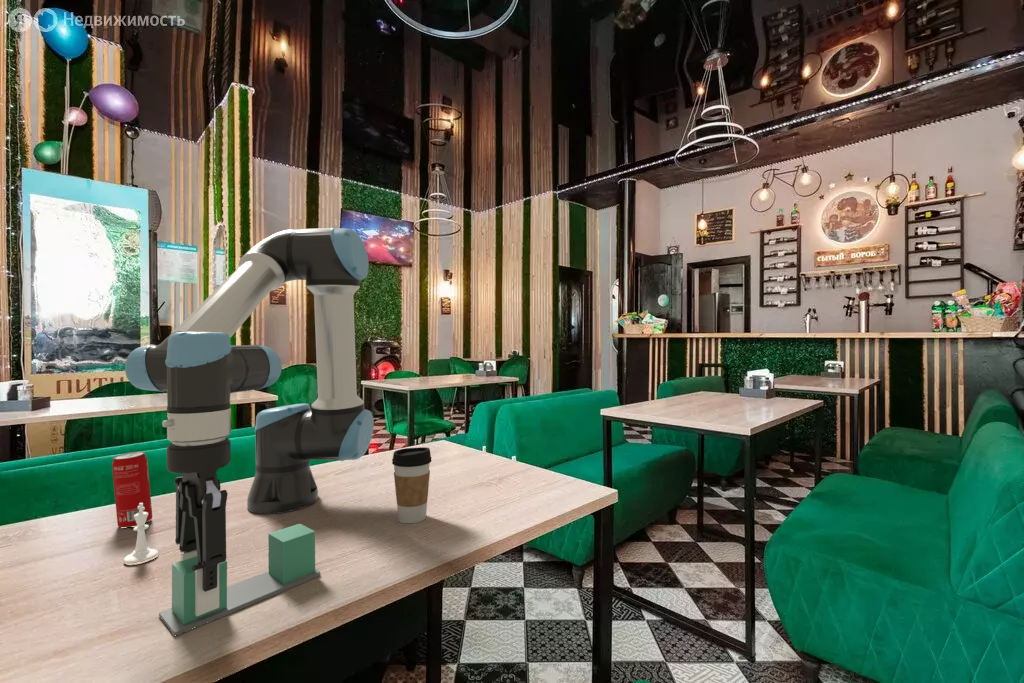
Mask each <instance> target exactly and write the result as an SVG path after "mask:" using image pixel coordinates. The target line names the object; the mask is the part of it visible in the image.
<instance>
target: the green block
mask: <svg viewBox="0 0 1024 683" xmlns="http://www.w3.org/2000/svg"><path fill="white" fill-rule="evenodd" d="M197 564H198V558H197V556H196V557H193V558H189V559H186V560H183V561H181V560H180V561H175V562H173V563H171V608H172V611H173V613H174V614H175V615H176V616H177V617H178V619H179V620H180V621H181V622H182V623H183V625H184V624H187V623H189V622H192V621H194V620H197V619H199V618H202V617H204V616H207V615H209V614H212V613H214V612H217V611H219V610H222V609H224V608H227V587H228V561H227V560H226V561H225V562H222V563H219V608H217V609H214V610H212V611H209V612H207V613H205V614H202V615H200V616H196V615H195V571H193V570H192V566H194V565H197Z"/></svg>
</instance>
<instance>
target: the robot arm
mask: <svg viewBox="0 0 1024 683" xmlns="http://www.w3.org/2000/svg"><path fill="white" fill-rule="evenodd" d="M369 264H370V263H369V256H368V252H367V248H366V245H365V243H364V240H363V239H362V237H361V236H360V235H359V233H358V232H356V231H355V230H353V229H351V228H342V227H326V228H323V227H321V228H290V229H285V230H282V231H278V232H276V233H273V234H272V235H270V236H268V237H265V238H264V239H262V240H261V241H259V242H258V243H256V244H255V245H254V246H253V247H251V248H250V249H249V250H247V252H246V253H244V255H242V256H241V257H240V258H239V261H238V268H236V269H235V270H234V271H233V273H232V274H230V275H229V276H228V277H227V279H225V280H224V281H223V282H222V283H221V284H220V285H219V286H218V287H217V288H216V289H215V290H214V291H213V292H212V293H211V294H210V295H209V296H208V297H207V298H206V299H205V300H203V302H202V303H201V304H200V305H199V306H198V307H196V309H194V310H193V312H191V314H190V315H188V316H187V317H186V319H184V321H182V322H181V323H180V324H179V325H178V326H177V327H176V328H175V329H174V330H173V331H172V332H171V333H169V336H167V337H166V338H165V339H164V340H163V341H162V342H161V343H159V344H157V345H156V344H148V345H143V346H142V345H141V346H140V347H136V348H134V350H132V351H131V352H130V353H129V354H128V356H127V358H126V360H125V363H124V365H125V366H124V373H125V376H126V378H127V380H128V381H129V383H130V384H131V385H132V386H134V387H135V388H136V389H139V390H144V391H154V392H161V393H162V392H163V393H164V392H166V393H167V394H166V400H167V405H166V406H167V407H166V411H167V415H166V417H167V419H166V420H162V423H161V424H162V428H166V433H167V434H166V435H167V436H166V439H167V440H168V441H169V442H171V443H169V445H167V447H166V470H167V471H168V472H169V473H172V474H179V475H182V476H177V477H175V478H174V486H175V544H176V545H177V546H178V545H179V546H178V549H179V551H180V553H181V554H180V561H183V560H186V559H189V558H193V557H196V556H197V558H198V564H197V565H194V566H192V570H193V571H195V615H196V616H200V615H202V614H205V613H207V612H209V611H212V610H214V609H217V608H219V563H222V562H225V561H227V515H226V513H227V511H226V510H227V509H226V508H227V501H228V494H229V493H228V491H227V490H226V489H223V490H222V488H221V482H220V479H219V478H218V474H217V471H218V470H219V469H221V468H224V467H226V466H227V465H229V464H230V462H231V458H232V457H231V456H232V454H231V447H232V446H231V445H232V444H231V440H230V439H229V437H228V436H230V435H231V434H232V407H231V394H234V393H240V392H248V391H259V390H261V389H265V388H268V387H270V386H272V385H274V384H275V383H276V382H277V381H278V380H279V378H280V376H281V374H282V368H283V366H282V360H281V358H280V356H279V354H278V353H277V351H275V350H274V349H273V348H271V347H269V346H267V345H260V344H248V345H246V344H245V345H244V344H243V345H239V344H238V345H233V344H231V338H232V337H233V336H234V335H235V333H236V332H237V331H238V330H239V328H240V327H242V325H243V324H244V323H245V321H246V320H247V319H248V318H249V317H250V316H251V315H252V313H254V311H255V310H256V309H257V308H258V306H259V305H260V304H261V302H263V300H265V298H266V297H267V296H268V295H269V294H270V292H272V291H276V290H279V289H280V288H281V287H282V286H283V285H284V284H285V283H287V282H292V281H305V284H306V289H307V290H308V291H309V292H311V294H312V295H313V302H314V303H313V305H314V306H313V307H314V326H315V329H314V330H315V351H316V352H315V355H316V378H317V379H316V380H317V398H316V399H315V401H313V402H312V403H311V406H310V403H303V402H302V403H295V404H287V405H282V406H277V407H272V408H267V409H263V410H261V411H259V412H258V413H257V415H256V417H255V427H254V432H255V434H254V435H255V440H254V441H255V474H254V479H253V481H252V484H251V486H250V490H249V493H248V495H247V501H246V502H247V503H246V506H247V508H246V509H247V510H248V511H249V512H251V513H255V514H260V515H261V514H263V515H269V514H271V515H272V514H273V515H274V514H281V513H288V512H292V511H296V510H301V509H304V508H307V507H309V506H310V505H313V504H314V503H315V502H317V501H318V499H319V495H318V494H319V490H318V489H319V488H318V486H317V483H316V480H315V478H314V475H313V473H312V470H311V460H312V461H314V460H315V461H317V460H318V461H319V460H321V461H340V462H344V461H356V460H358V459H360V458H362V457H363V456H364V455H365V454H366V452H367V451H368V449H369V446H370V443H371V442H372V437H373V434H374V422H375V419H374V416H373V412H372V411H371V410H368V409H365V404H364V403H365V402H364V399H362V398H361V397H360V396H359V395H358V394H357V393H358V392H357V364H356V360H357V359H356V337H355V336H356V333H355V332H356V331H355V308H354V307H355V303H354V302H355V301H354V295H355V293H356V292H357V291H358V290H359V289H360V288H361V283H360V281H361V280H362V281H363V280H364V279H366V278H367V276H368V275H369V268H370V265H369Z"/></svg>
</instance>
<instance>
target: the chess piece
mask: <svg viewBox="0 0 1024 683" xmlns="http://www.w3.org/2000/svg"><path fill="white" fill-rule="evenodd" d="M138 509H139V513H137V514H135V515H134V519H135V520H136V523H137V525H138V526H136V527H133V531H134V532H137V534H136V542H135V549H134V550H133V551H132V552H131V553H130V554H128V555H126V556H125V557H124V558H123V562H125V563H137V562H143V561H145V560H148V559H151V558H153V557H155V556H156V555H157V554H159V551H158V549H156V548H154V549H153V548H150V547H148V543H147V536H146V531H145V530H147V529H148V528H149V524H145V522H146V519H147V516H148V512H143V510H145V507H143V503H139V506H138Z"/></svg>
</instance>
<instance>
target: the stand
mask: <svg viewBox="0 0 1024 683" xmlns="http://www.w3.org/2000/svg"><path fill="white" fill-rule="evenodd" d="M320 576H321V571H320V570H318V569H316V531H315V530H313V529H311V528H309V527H307V526H305V525H304V524H302V523H297V524H295V525H291V526H288V527H285V528H282V529H279V530H276V531H272V532H269V533H268V571H265V572H263V573H260V574H257V575H255V576H252V577H249V578H247V579H243V580H242V581H238V582H236V583H234V584H230V585H227V608H224V609H222V610H219V611H217V612H214V613H212V614H209V615H207V616H204V617H202V618H199V619H197V620H194V621H192V622H189V623H187V624H184V625H183V623H182V622H181V621H180V620H179V619H178V617H177V616H176V615H175V614H174V613H173V611H172V607H170V608H167V609H165V610H162V611H160V612H158V617H159V616H160V617H161V618H162V620H163V621H164V622H165V624H166V625H167V626H168V628H169V629H170V630H169V629H168V628H167V629H168V630H169V632H170V631H171V632H172V633H171V632H170V633H171V634H172V636H173V635H174V636H175V635H178V634H181V635H183V634H184V633H183V632H185V633H187V632H186V631H188V632H190V631H191V630H190V629H192V628H194V627H197V626H200V625H202V624H204V625H206V624H205V623H207V622H209V623H211V622H214V621H216V620H218V618H219V619H221V618H224V617H226V616H228V615H230V614H232V612H233V613H236V612H237V610H238V611H240V610H242V609H244V607H245V608H246V607H249V606H251V605H254V604H257V603H259V602H260V601H263V600H265V599H268V598H270V597H273V596H275V595H278V594H281V593H283V592H286V591H288V590H290V589H292V588H294V587H297V586H298V585H301V584H304V583H306V582H308V581H311V580H313V579H316V578H317V577H320ZM239 609H240V610H239ZM229 613H230V614H229ZM227 614H228V615H227ZM160 617H159V618H160ZM215 619H216V620H215ZM162 620H161V621H162ZM213 620H214V621H213ZM163 621H162V622H163ZM210 621H211V622H210ZM165 624H164V625H165ZM207 624H208V623H207ZM166 625H165V626H166ZM202 626H203V625H202ZM200 627H201V626H200ZM197 628H198V627H197ZM189 630H190V631H189ZM192 630H193V629H192ZM182 633H183V634H182ZM174 636H173V637H174ZM178 636H179V635H178Z"/></svg>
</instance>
